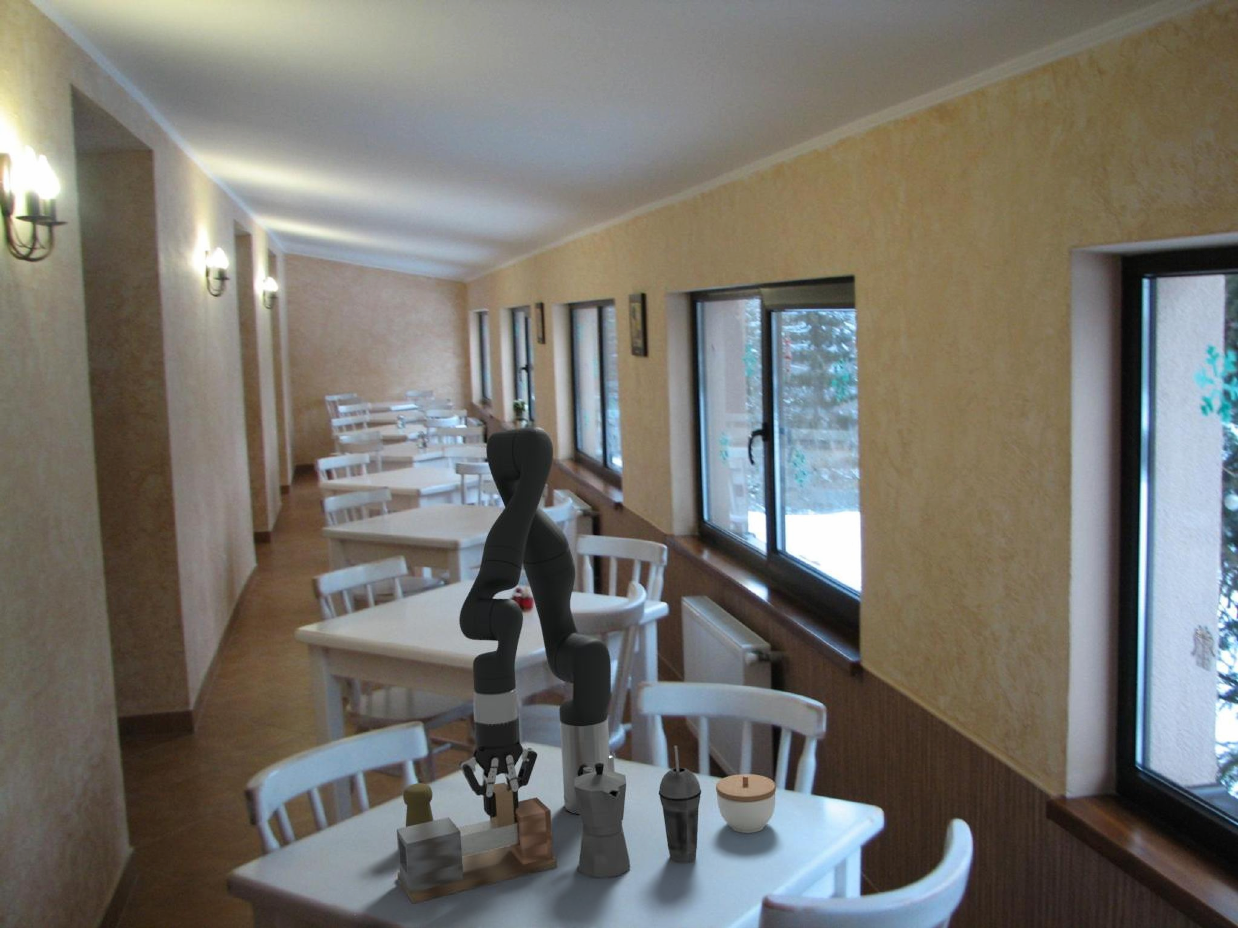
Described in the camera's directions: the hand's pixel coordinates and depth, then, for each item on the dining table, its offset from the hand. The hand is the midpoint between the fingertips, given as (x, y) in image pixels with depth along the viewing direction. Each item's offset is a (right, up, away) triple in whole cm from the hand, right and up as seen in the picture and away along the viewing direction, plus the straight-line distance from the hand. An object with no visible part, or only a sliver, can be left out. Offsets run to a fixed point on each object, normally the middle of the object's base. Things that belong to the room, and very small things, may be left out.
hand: (501, 812), depth 189 cm
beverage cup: (+31, -8, +1) cm, 32 cm away
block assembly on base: (-4, -10, -1) cm, 11 cm away
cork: (-16, -9, +11) cm, 21 cm away
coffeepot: (+17, -9, 0) cm, 19 cm away
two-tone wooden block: (-2, -5, 0) cm, 6 cm away
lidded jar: (+43, -6, +12) cm, 45 cm away
